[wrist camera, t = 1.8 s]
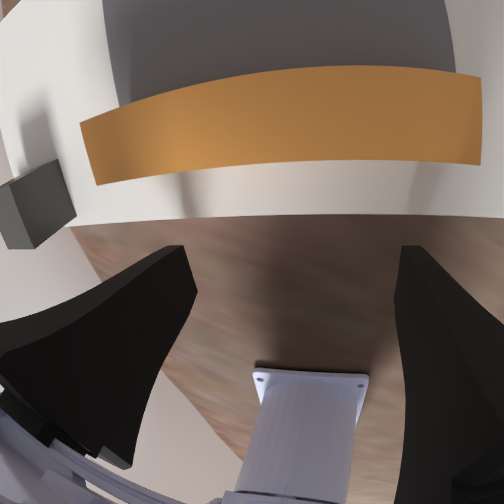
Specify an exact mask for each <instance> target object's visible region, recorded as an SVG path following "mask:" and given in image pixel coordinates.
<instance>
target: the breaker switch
mask: <svg viewBox="0 0 504 504" xmlns="http://www.w3.org/2000/svg"><path fill="white" fill-rule="evenodd" d="M79 124H80V128H81V132H82V136H83V140H84V144H85V148H86V152H87V155H88V159H89V162H90V166H91V169H92V172H93V176H94V179H95V182H96V185H97V186H99V185H104V184H109V183H115V182H120V181H126V180H131V179H137V178H143V177H150V176H156V175H163V174H170V173H177V172H185V171H193V170H201V169H210V168H219V167H229V166H239V165H251V164H264V163H279V162H298V161H324V160H399V161H424V162H441V163H455V164H467V165H477V166H480V164H481V150H482V87H481V77H476V76H471V75H465V74H460V73H453V72H447V71H439V70H431V69H422V68H411V67H396V66H368V65H350V66H321V67H306V68H294V69H284V70H275V71H268V72H260V73H253V74H247V75H241V76H235V77H230V78H224V79H219V80H214V81H210V82H205V83H201V84H196V85H192V86H188V87H184V88H180V89H176V90H173V91H169V92H165V93H162V94H158V95H155V96H152V97H148V98H145V99H142V100H139V101H136V102H133V103H130V104H127V105H124V106H121V107H118V108H116V109H113V110H110V111H107V112H105V113H102V114H100V115H97V116H95V117H92V118H90V119H87V120H85V121H82V122H80V123H79Z"/></svg>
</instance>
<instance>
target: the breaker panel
mask: <svg viewBox="0 0 504 504" xmlns="http://www.w3.org/2000/svg"><path fill="white" fill-rule="evenodd" d="M350 65H368V66H396V67H411V68H422V69H431V70H439V71H447V72H453V73H460V74H465V75H471V76H476V77H481V87H482V150H481V164H480V166H477V165H467V164H455V163H441V162H424V161H399V160H324V161H298V162H279V163H264V164H251V165H239V166H229V167H219V168H210V169H201V170H193V171H185V172H177V173H170V174H163V175H156V176H150V177H143V178H137V179H131V180H126V181H120V182H115V183H109V184H104V185H99V186H97V185H96V182H95V179H94V176H93V172H92V169H91V166H90V162H89V159H88V155H87V152H86V148H85V144H84V140H83V136H82V132H81V128H80V124H79V123H80V122H82V121H85V120H87V119H90V118H92V117H95V116H97V115H100V114H102V113H105V112H107V111H110V110H113V109H116V108H118V107H121V106H124V105H127V104H130V103H133V102H136V101H139V100H142V99H145V98H148V97H152V96H155V95H158V94H162V93H165V92H169V91H173V90H176V89H180V88H184V87H188V86H192V85H196V84H201V83H205V82H210V81H214V80H219V79H224V78H230V77H235V76H241V75H247V74H253V73H260V72H268V71H275V70H284V69H294V68H306V67H321V66H350ZM0 128H1V133H2V137H3V141H4V145H5V149H6V153H7V156H8V160H9V163H10V167H11V170H12V173H13V177H14V178H15V177H17V176H19V175H21V174H23V173H24V172H26V171H28V170H31V169H33V168H35V167H38V166H40V165H43V164H45V163H48V162H50V161H53V160H55V159H58V160H59V163H60V167H61V170H62V173H63V177H64V180H65V183H66V186H67V189H68V192H69V195H70V198H71V201H72V203H73V206H74V209H75V212H76V214H77V217H76V218H74V219H73V220H71V221H70V222H69V223H67V224H66V225H65V226H63V227H69V226H80V225H92V224H104V223H118V222H132V221H147V220H164V219H182V218H202V217H226V216H255V215H297V214H407V215H446V216H472V217H493V218H504V0H21V1H20V2H19V3H18V4H17V5H16V6H15V7H14V8H13V9H12V10H11V11H10V12H9V14H8V15H7V16H6V17H5V18H4V19H3V20H2V21H1V22H0Z"/></svg>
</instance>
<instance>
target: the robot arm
mask: <svg viewBox="0 0 504 504" xmlns="http://www.w3.org/2000/svg"><path fill="white" fill-rule="evenodd" d="M197 292H198V291H197V288H196V284H195V281H194V278H193V275H192V272H191V269H190V266H189V262H188V259H187V256H186V253H185V249H184V246H183V245H169V246H166V247H164V248H162V249H160V250H158V251H156V252H154V253H152V254H150V255H149V256H147V257H145V258H143V259H142V260H140V261H138V262H137V263H135V264H133V265H132V266H130V267H128V268H127V269H125V270H123V271H122V272H120V273H118V274H116V275H115V276H113V277H111V278H109V279H108V280H106V281H104V282H103V283H101V284H99V285H97V286H96V287H94V288H92V289H90V290H88V291H86V292H85V293H83V294H80V295H78V296H76V297H74V298H72V299H70V300H68V301H66V302H63V303H61V304H58V305H56V306H53V307H51V308H49V309H46V310H44V311H41V312H38V313H35V314H32V315H29V316H26V317H22V318H19V319H16V320H11V321H7V322H2V323H0V384H1V385H2V386H3V388H5V389H4V391H3V392H2V393H1V392H0V504H117V503H115V502H113V501H111V500H109V499H107V498H105V497H103V496H101V495H99V494H97V493H95V492H94V491H92V490H90V489H88V488H87V487H86V482H85V480H87V481H88V482H90V483H92V484H93V485H95V486H97V487H98V488H100V489H102V490H104V491H105V492H107V493H109V494H111V495H113V496H114V497H116V498H118V499H120V500H122V501H124V502H126V503H128V504H185V503H182V502H180V501H177V500H174V499H172V498H169V497H166V496H164V495H161V494H158V493H156V492H154V491H151V490H149V489H147V488H144V487H142V486H140V485H137V484H135V483H133V482H131V481H129V480H127V479H125V478H123V477H121V476H119V475H116V474H115V473H113V472H111V471H109V470H107V469H105V468H103V467H101V466H100V465H98V464H96V463H94V462H92V461H91V460H89V459H87V458H86V457H85V455H86V454H88V455H89V456H91V457H93V458H97V457H99V458H101V459H103V460H105V461H106V462H109V463H110V464H112V465H114V466H116V467H118V468H120V469H123V470H125V469H129V468H131V467H132V464H133V457H134V452H135V447H136V441H137V437H138V433H139V429H140V425H141V422H142V417H143V414H144V411H145V408H146V405H147V402H148V399H149V396H150V393H151V390H152V388H153V385H154V383H155V380H156V378H157V375H158V372H159V370H160V368H161V366H162V364H163V362H164V360H165V358H166V357H167V355H168V353H169V351H170V349H171V347H172V346H173V344H174V342H175V340H176V338H177V337H178V335H179V333H180V331H181V329H182V327H183V326H184V324H185V322H186V320H187V318H188V316H189V314H190V311H191V309H192V306H193V304H194V301H195V298H196V295H197ZM394 303H395V318H396V328H397V334H398V340H399V347H400V353H401V360H402V367H403V374H404V382H405V395H406V407H405V431H404V443H403V453H402V461H401V468H400V475H399V481H398V486H397V491H396V495H395V500H394V504H504V325H503V324H502V323H501V322H500V321H499V320H498V319H496V318H495V317H494V316H493V315H492V314H490V313H489V312H488V311H487V310H486V309H485V308H484V307H482V306H481V305H480V304H479V303H478V302H477V301H476V300H475V299H474V298H473V297H472V296H471V295H470V294H469V293H468V292H467V291H465V290H464V289H463V288H462V287H461V286H460V285H459V284H458V283H457V282H456V281H455V280H454V279H453V278H452V277H451V276H450V275H449V274H448V273H447V272H446V271H445V270H444V269H443V267H442V266H441V265H440V264H439V263H438V262H437V261H436V260H435V259H434V258H433V257H432V256H431V255H430V254H429V253H428V252H427V251H426V250H424V249H423V248H422V247H421V246H402V249H401V257H400V264H399V271H398V278H397V284H396V290H395V296H394ZM252 375H253V378H254V382H255V386H256V389H257V393H258V396H259V400H260V404H261V407H260V410H259V414H258V417H257V420H256V424H255V427H254V430H253V433H252V437H251V440H250V443H249V446H248V449H247V453H246V456H245V459H244V462H243V465H242V468H241V472H240V474H239V477H238V481H237V483H236V486H235V489H234V492H231V491H225V493H224V496H223V498H215V499H214V500H212V501H210V502H209V503H207V504H346V498H347V492H348V486H349V479H350V472H351V464H352V456H353V448H354V438H355V428H356V425H357V421H358V418H359V415H360V412H361V408H362V405H363V402H364V398H365V395H366V391H367V387H368V384H369V376H368V375H366V374H346V373H321V372H304V371H290V370H279V369H268V368H255V369H254V370H253V373H252Z"/></svg>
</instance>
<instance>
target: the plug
mask: <svg viewBox="0 0 504 504" xmlns="http://www.w3.org/2000/svg"><path fill="white" fill-rule="evenodd" d="M76 217H77V214H76V212H75V209H74V206H73V203H72V201H71V198H70V195H69V192H68V189H67V186H66V183H65V180H64V177H63V173H62V170H61V167H60V163H59V160H58V159H55V160H53V161H50V162H48V163H45V164H43V165H40V166H38V167H35V168H33V169H31V170H28V171H26V172H24V173H23V174H21V175H19V176H17V177H15V178H14V179H12V180H10V181H8V182H7V183H5V184H3V185H1V186H0V232H1V234H2V236H3V239H4V241H5V243H6V245H7V248H8V249H35V248H36V247H38V246H39V245H40V244H42V243H43V242H44V241H45V240H47V239H48V238H49V237H50V236H52V235H53V234H54V233H56V232H57V231H58V230H59V229H61V228H62V227H63V226H65V225H66V224H67V223H69V222H70V221H71V220H73V219H74V218H76Z"/></svg>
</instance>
